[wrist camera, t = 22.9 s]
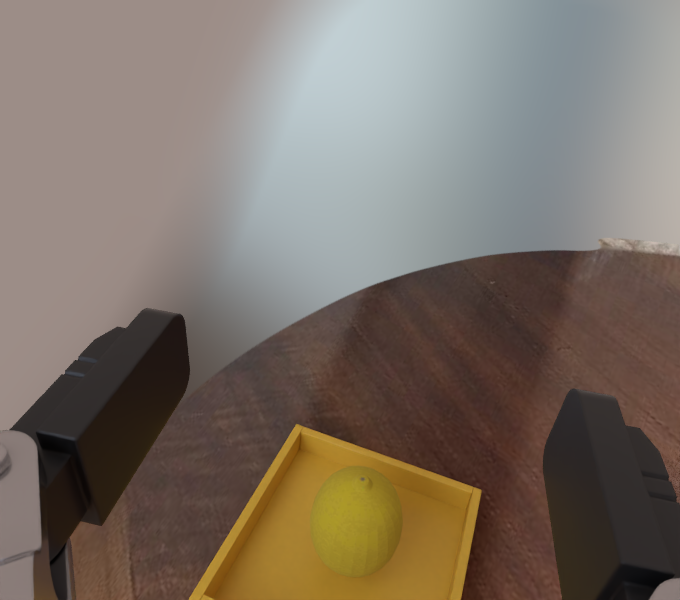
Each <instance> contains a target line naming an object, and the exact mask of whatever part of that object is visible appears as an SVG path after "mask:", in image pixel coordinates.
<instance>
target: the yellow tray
mask: <svg viewBox="0 0 680 600" xmlns="http://www.w3.org/2000/svg"><path fill="white" fill-rule="evenodd" d="M349 466H365V467H369V468H372V469H375V470H376V471H378V472H380V473H382V474H383V475H384V476H385V477H386V478H387V479H388V480H389V481H390V482H391V483H392V485H393V486H394V488H395V489H396V491H397V494H398V497H399V499H400V503H401V507H402V519H403V526H402V532H401V537H400V541H399V544H398V546H397V548H396V550H395V552H394V554H393V556H392V558H391V559H390V560H389V561H388V562H387V563H386V564H385V565H384V566H383V567H382V568H381V569H380V570H378V571H376V572H375V573H373V574H371V575H368V576H364V577H347V576H344V575H340V574H338V573H336V572H335V571H333V570H331V569H330V568H329V567H328V566H327V565H325V564H324V563H323V562H322V560H321V559H320V557H319V555H318V554H317V552H316V550H315V548H314V545H313V542H312V538H311V531H310V515H311V511H312V506H313V503H314V500H315V497H316V495H317V493H318V492H319V490H320V488H321V486H322V485H323V483H324V482H325V481H326V480H327V479H328V478H329V477H330V476H331V475H332V474H333V473H335V472H337V471H338V470H340V469H343V468H346V467H349ZM481 492H482V490H480V489H478V488H475V487H474V488H473V487H472V486H469V485H466V484H464V483H461V482H458V481H455V480H452V479H449V478H447V477H444V476H441V475H438V474H435V473H433V472H430V471H427V470H424V469H421V468H418V467H416V466H413V465H410V464H407V463H404V462H402V461H399V460H396V459H393V458H390V457H387V456H385V455H382V454H379V453H376V452H373V451H371V450H368V449H365V448H362V447H359V446H356V445H354V444H351V443H348V442H345V441H342V440H340V439H337V438H334V437H331V436H328V435H325V434H323V433H320V432H317V431H314V430H311V429H309V428H306V427H303V426H301V425H298V424H296V426H295V427H294V429H293V431H292V432H291V434H290V435H289V437H288V439H287V440H286V442H285V444H284V445H283V447H282V448H281V450H280V452H279V453H278V455H277V457H276V458H275V460H274V461H273V463H272V465H271V466H270V468H269V470H268V471H267V473H266V474H265V476H264V478H263V479H262V481H261V483H260V484H259V486H258V487H257V489H256V491H255V492H254V494H253V496H252V497H251V499H250V500H249V502H248V504H247V505H246V507H245V509H244V510H243V512H242V513H241V515H240V517H239V518H238V520H237V522H236V523H235V525H234V526H233V528H232V530H231V531H230V533H229V535H228V536H227V538H226V539H225V541H224V543H223V544H222V546H221V548H220V549H219V551H218V552H217V554H216V556H215V557H214V559H213V561H212V562H211V564H210V565H209V567H208V569H207V570H206V572H205V574H204V575H203V577H202V578H201V580H200V582H199V583H198V585H197V587H196V588H195V590H194V591H193V593H192V595H191V596H190V598H189V600H461V597H462V591H463V586H464V581H465V576H466V570H467V565H468V560H469V555H470V549H471V544H472V539H473V534H474V529H475V523H476V518H477V513H478V508H479V502H480V497H481Z"/></svg>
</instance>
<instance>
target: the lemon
mask: <svg viewBox="0 0 680 600" xmlns="http://www.w3.org/2000/svg"><path fill="white" fill-rule="evenodd" d="M402 526H403V519H402V507H401V503H400V499H399V497H398V494H397V491H396V489H395V488H394V486H393V485H392V483H391V482H390V481H389V480H388V479H387V478H386V477H385V476H384V475H383V474H382V473H380V472H378V471H376V470H375V469H372V468H369V467H365V466H349V467H346V468H343V469H340V470H338V471H337V472H335V473H333V474H332V475H331V476H330V477H329V478H328V479H327V480H326V481H325V482H324V483H323V485H322V486H321V488H320V490H319V492H318V493H317V495H316V497H315V500H314V503H313V506H312V511H311V515H310V531H311V538H312V542H313V545H314V548H315V550H316V552H317V554H318V555H319V557H320V559H321V560H322V562H323V563H324V564H325V565H327V566H328V567H329V568H330V569H331V570H333V571H335V572H336V573H338V574H340V575H344V576H347V577H364V576H368V575H371V574H373V573H375V572H376V571H378V570H380V569H381V568H382V567H383V566H384V565H385V564H386V563H387V562H388V561H389V560H390V559H391V558H392V556H393V554H394V552H395V550H396V548H397V546H398V544H399V541H400V537H401V532H402Z"/></svg>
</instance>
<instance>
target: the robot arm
mask: <svg viewBox="0 0 680 600" xmlns="http://www.w3.org/2000/svg"><path fill="white" fill-rule="evenodd" d="M189 375H190V366H189V356H188V346H187V337H186V327H185V320H184V318H183V316H182V315H181V314H177V313H171V312H166V311H161V310H156V309H150V308H146V309H144V310H142V311H141V312H140V313H139V314H138V316H137V317H136V318H135V319H134V320H133V321H132V322H131V323H130V325H129V326H128V327H127V328H121V327H116V328H114V329H112V330H111V331H109V332H107V333H105V334H104V335H102V336H100V337H99V338H97V339H95V340H94V341H93V342H92V343H91V344H90V345H89V346H88V347H87V348H86V349H85V350H84V351H83V352H82V353H81V355H80V356H79V358H78V360H75V361H74V362H73V363H72V364H71V365H70V366H69V367H68V368H67V370H65V374H64V375H61V376H60V377H59V378H58V379H57V380H56V382H54V383H53V384H52V385H51V386H50V388H49V389H48V390H47V391H46V392H45V393H44V394H43V395H42V396H41V397H40V398H39V399H38V400H37V401H36V402H35V404H34V405H33V406H32V407H31V408H30V409H29V410H28V411H27V412H26V413H25V414H24V415H23V416H22V417H21V418H20V419H19V421H18V422H17V423H16V424H15V425H14V426H13V427H12V428H11V429H10V430H3V431H0V600H76V591H75V580H74V569H73V558H72V547H71V541H70V536H71V534H72V533H73V531H74V530H75V528H76V527H77V525H78V524H79V522H80V521H83V522H87V523H91V524H95V525H99V526H102V525H103V523H104V522H105V520H106V518H107V517H108V515H109V514H110V512H111V510H112V509H113V507H114V506H115V504H116V502H117V501H118V499H119V498H120V496H121V495H122V493H123V491H124V490H125V488H126V487H127V485H128V483H129V482H130V480H131V479H132V477H133V475H134V474H135V472H136V471H137V469H138V467H139V466H140V464H141V463H142V461H143V459H144V458H145V456H146V455H147V453H148V451H149V450H150V448H151V447H152V445H153V443H154V442H155V440H156V439H157V437H158V435H159V434H160V432H161V431H162V429H163V427H164V426H165V424H166V423H167V421H168V419H169V418H170V416H171V415H172V413H173V411H174V410H175V408H176V407H177V405H178V403H179V402H180V400H181V398H182V397H183V395H184V393H185V391H186V388H187V385H188V381H189ZM543 473H544V480H545V487H546V494H547V500H548V507H549V514H550V520H551V527H552V534H553V541H554V547H555V554H556V561H557V567H558V574H559V581H560V588H561V594H562V600H680V504H679V503H678V502H676V499H677V496H676V494H675V491H674V488H673V486H672V483H671V482H670V481H669V480H668V478H669V475H668V473H667V470H666V468H665V465H664V462H663V460H662V457H661V455H660V452H659V451H658V449H657V448H656V447H655V446H654V445H653V443H652V442H651V441H650V440H649V439H648V437H647V436H646V435H645V434H644V433H643V432H642V430H641V429H640V428H636V427H631V426H626V425H625V423H624V420H623V417H622V414H621V411H620V408H619V405H618V402H617V400H616V398H615V397H614V396H611V395H606V394H600V393H595V392H589V391H584V390H579V389H571V390H570V391H569V392H568V394H567V396H566V398H565V400H564V403H563V405H562V407H561V410H560V412H559V414H558V416H557V419H556V421H555V423H554V425H553V428H552V430H551V432H550V434H549V437H548V439H547V442H546V445H545V449H544V456H543Z"/></svg>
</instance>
